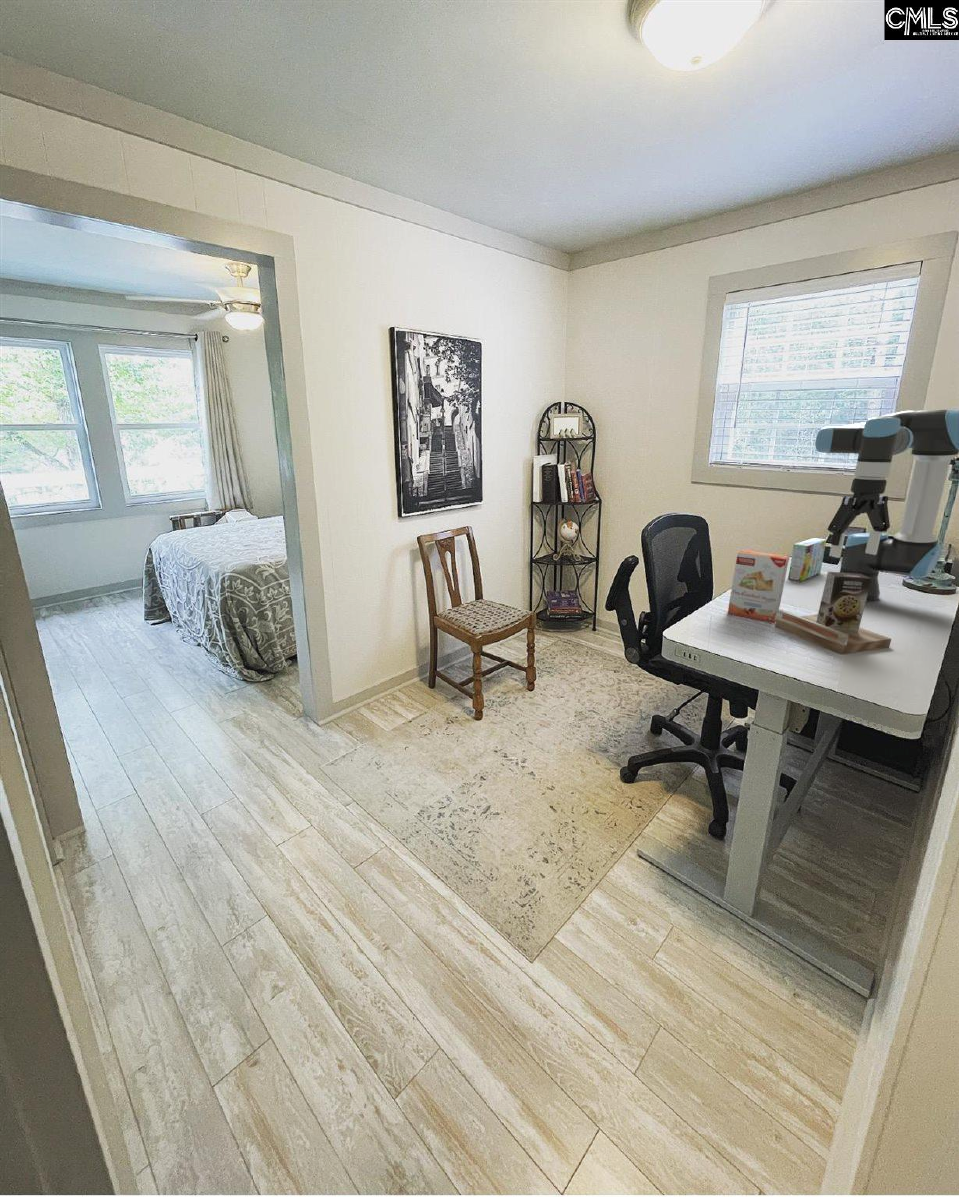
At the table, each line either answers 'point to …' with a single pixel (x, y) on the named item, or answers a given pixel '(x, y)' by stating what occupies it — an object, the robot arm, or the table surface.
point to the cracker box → (758, 585)
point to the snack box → (807, 559)
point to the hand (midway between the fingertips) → (852, 555)
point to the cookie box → (843, 601)
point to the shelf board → (830, 634)
